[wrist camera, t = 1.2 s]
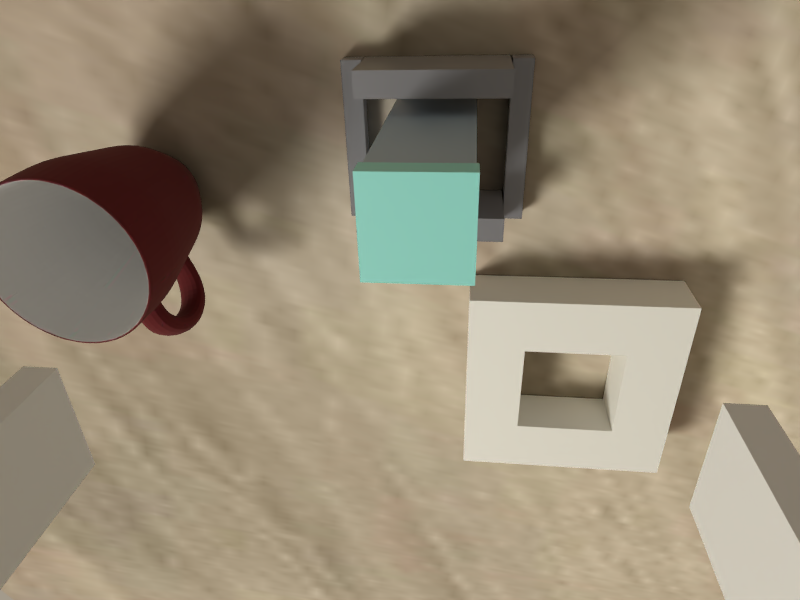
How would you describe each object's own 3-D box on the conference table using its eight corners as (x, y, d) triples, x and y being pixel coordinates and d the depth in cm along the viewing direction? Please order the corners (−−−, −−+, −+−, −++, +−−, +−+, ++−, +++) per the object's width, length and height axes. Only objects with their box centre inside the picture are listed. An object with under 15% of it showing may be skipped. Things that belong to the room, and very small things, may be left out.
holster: (344, 56, 29) (326, 70, 26) (533, 54, 28) (541, 68, 25) (355, 208, 33) (340, 238, 30) (520, 211, 32) (525, 242, 29)
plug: (395, 96, 30) (352, 171, 19) (479, 96, 29) (480, 172, 19) (398, 176, 32) (360, 282, 22) (475, 177, 31) (475, 285, 21)
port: (470, 274, 34) (469, 300, 32) (684, 281, 33) (701, 308, 30) (464, 428, 40) (463, 460, 38) (645, 438, 39) (656, 472, 37)
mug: (286, 248, 35) (225, 344, 26) (188, 301, 38) (103, 404, 29) (169, 88, 31) (51, 140, 22) (68, 160, 34) (-71, 231, 25)
